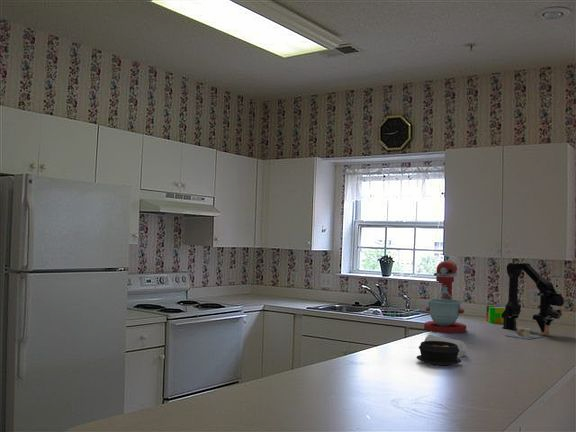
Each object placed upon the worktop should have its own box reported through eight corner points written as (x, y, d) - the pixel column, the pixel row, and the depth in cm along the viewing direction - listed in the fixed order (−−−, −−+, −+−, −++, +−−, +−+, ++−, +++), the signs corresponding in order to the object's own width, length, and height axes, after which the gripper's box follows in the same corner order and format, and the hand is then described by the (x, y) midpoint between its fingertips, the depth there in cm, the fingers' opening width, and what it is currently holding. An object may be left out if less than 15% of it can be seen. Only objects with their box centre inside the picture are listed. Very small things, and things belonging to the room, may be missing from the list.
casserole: (461, 371, 245) (462, 350, 246) (414, 367, 250) (414, 346, 251) (461, 360, 270) (461, 340, 270) (418, 356, 275) (418, 337, 275)
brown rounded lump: (538, 333, 350) (539, 325, 350) (542, 333, 353) (542, 324, 353) (546, 335, 346) (547, 326, 346) (550, 334, 349) (550, 325, 349)
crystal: (474, 348, 279) (434, 339, 299) (465, 341, 275) (425, 333, 295) (468, 363, 276) (428, 353, 296) (459, 356, 273) (419, 347, 293)
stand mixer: (420, 331, 349) (421, 260, 351) (427, 324, 379) (429, 259, 380) (463, 335, 341) (465, 262, 342) (468, 327, 370) (469, 261, 372)
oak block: (517, 335, 343) (517, 328, 343) (521, 334, 347) (521, 327, 347) (525, 336, 340) (525, 329, 340) (530, 335, 343) (530, 328, 343)
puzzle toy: (501, 321, 405) (502, 306, 406) (505, 323, 395) (506, 308, 396) (486, 320, 406) (486, 305, 407) (489, 323, 396) (490, 307, 397)
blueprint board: (504, 335, 343) (504, 335, 343) (518, 333, 354) (518, 332, 354) (528, 339, 333) (528, 338, 333) (542, 337, 343) (542, 336, 343)
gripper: (552, 306, 338) (551, 335, 337) (566, 304, 350) (566, 332, 350) (532, 304, 346) (531, 332, 346) (547, 302, 359) (546, 329, 358)
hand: (544, 331), depth 349 cm, fingers closed on brown rounded lump, 5 cm apart
